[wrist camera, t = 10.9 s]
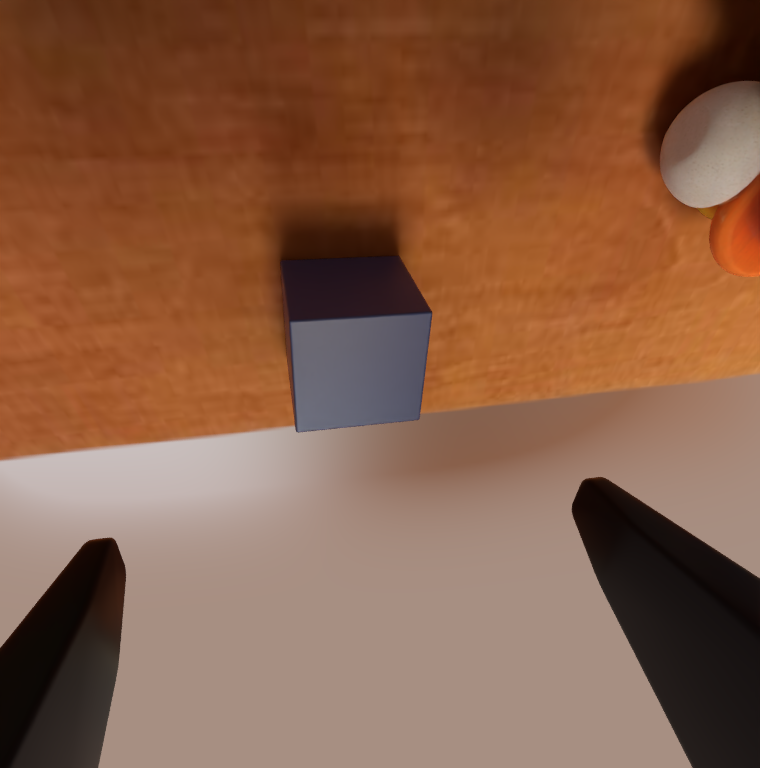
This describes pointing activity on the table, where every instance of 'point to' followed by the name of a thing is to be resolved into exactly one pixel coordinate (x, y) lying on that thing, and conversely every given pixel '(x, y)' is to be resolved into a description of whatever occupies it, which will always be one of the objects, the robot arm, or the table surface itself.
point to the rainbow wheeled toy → (720, 170)
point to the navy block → (354, 341)
